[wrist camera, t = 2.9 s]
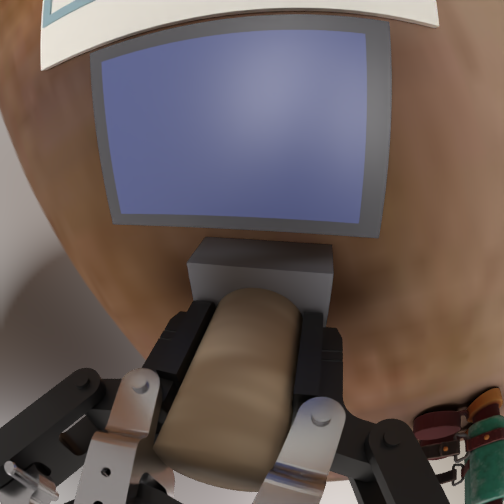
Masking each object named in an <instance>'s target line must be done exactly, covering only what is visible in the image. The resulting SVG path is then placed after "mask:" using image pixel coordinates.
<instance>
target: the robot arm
mask: <svg viewBox="0 0 504 504" xmlns="http://www.w3.org/2000/svg"><path fill="white" fill-rule="evenodd" d="M215 310H216V309H215V304H214V302H207V301H199V300H194V301H193V302H192V304H191V306H190V308H189V309H188V311H187V312H182V311H180V312H179V313H178V314H177V315H175V316H174V317H173V318H171V319H170V321H169V323H168V324H167V326H166V328H165V331H163V333H162V334H161V336H160V339H158V341H157V343H156V344H155V346H154V348H153V350H152V351H151V353H150V355H149V356H148V358H147V360H146V361H145V364H144V365H143V367H142V368H138V369H134V370H132V371H130V372H128V373H127V374H126V375H125V376H124V377H123V379H101V377H100V376H99V374H98V373H97V372H96V371H95V370H93V369H91V368H82V369H79V370H77V371H75V372H73V373H72V374H71V375H70V376H68V377H67V378H65V379H64V380H63V381H61V382H60V383H59V384H58V385H56V386H55V387H54V388H52V389H51V390H50V391H48V392H47V393H46V394H44V395H43V396H42V397H40V398H39V399H38V400H36V401H35V402H34V403H33V404H31V405H30V406H29V407H27V408H26V409H25V410H23V411H22V412H21V413H19V415H17V416H16V417H14V418H13V419H12V420H10V421H9V422H8V423H6V424H5V425H4V426H3V427H1V428H0V502H1V504H49V503H50V502H51V501H57V500H58V498H59V494H58V492H57V491H56V487H57V486H58V485H59V484H61V483H62V482H63V481H64V480H66V479H67V478H68V477H69V476H70V475H72V474H73V473H74V472H76V471H77V470H78V469H79V468H80V467H81V466H83V465H84V466H83V470H82V473H81V477H80V481H79V485H78V488H77V492H76V496H75V499H74V500H72V501H69V502H67V503H64V504H182V503H180V502H179V501H177V500H175V499H173V495H174V487H175V486H174V485H175V478H174V473H173V469H171V468H169V467H168V466H167V465H165V464H164V462H163V461H162V460H161V459H160V458H159V457H158V455H157V454H156V453H155V451H154V450H153V446H154V444H155V442H156V439H157V437H158V435H159V433H160V430H161V428H162V426H163V424H164V422H165V419H166V417H167V415H168V413H169V410H170V408H171V406H172V404H173V402H174V399H175V397H176V395H177V393H178V391H179V388H180V386H181V384H182V382H183V380H184V377H185V375H186V373H187V371H188V369H189V367H190V364H191V362H192V360H193V358H194V356H195V353H196V351H197V349H198V347H199V345H200V343H201V340H202V338H203V336H204V334H205V332H206V330H207V327H208V325H209V323H210V321H211V319H212V317H213V314H214V312H215ZM342 351H343V346H342V337H341V335H340V334H339V332H338V330H337V328H328V327H323V313H317V312H304V313H303V322H302V331H301V340H300V348H299V356H298V363H297V371H296V378H295V385H294V392H293V400H292V407H293V417H292V423H291V429H290V432H289V434H288V436H287V439H286V441H285V443H284V445H283V448H282V450H281V452H280V454H279V456H278V459H277V461H276V463H275V465H274V466H273V468H271V469H270V471H269V472H268V474H267V476H266V478H265V480H264V482H263V484H262V486H261V488H260V490H259V491H258V493H257V495H256V497H255V499H254V501H253V503H252V504H319V502H320V500H321V497H322V494H323V492H324V489H325V485H326V479H327V476H328V473H329V471H332V472H335V473H338V474H341V475H344V476H347V477H348V478H349V481H350V483H351V486H352V488H353V491H354V493H355V496H356V498H357V501H358V504H450V503H449V501H448V499H447V497H446V495H445V493H444V491H443V489H442V487H441V485H440V483H439V481H438V479H437V477H436V475H435V473H434V471H433V469H432V467H431V465H430V463H429V461H428V459H427V457H426V456H425V454H424V452H423V450H422V448H421V446H420V444H419V442H418V441H417V439H416V437H415V435H414V433H413V431H412V430H411V428H410V427H409V426H408V425H407V424H406V423H405V422H403V421H401V420H398V419H386V420H382V421H380V422H379V423H377V424H375V423H372V422H368V421H365V420H362V419H359V418H357V417H355V416H353V415H352V414H351V413H350V412H349V411H348V410H347V409H346V407H345V405H344V402H343V362H342V361H343V353H342ZM84 414H85V415H86V416H85V417H84V418H82V419H81V420H80V421H79V422H78V423H76V424H75V425H74V426H72V427H71V428H70V429H69V430H68V431H66V432H64V433H62V432H63V431H64V430H65V429H67V428H68V427H69V426H70V425H71V424H73V423H74V422H75V421H76V420H78V419H79V418H80V417H81V416H83V415H84Z"/></svg>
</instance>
